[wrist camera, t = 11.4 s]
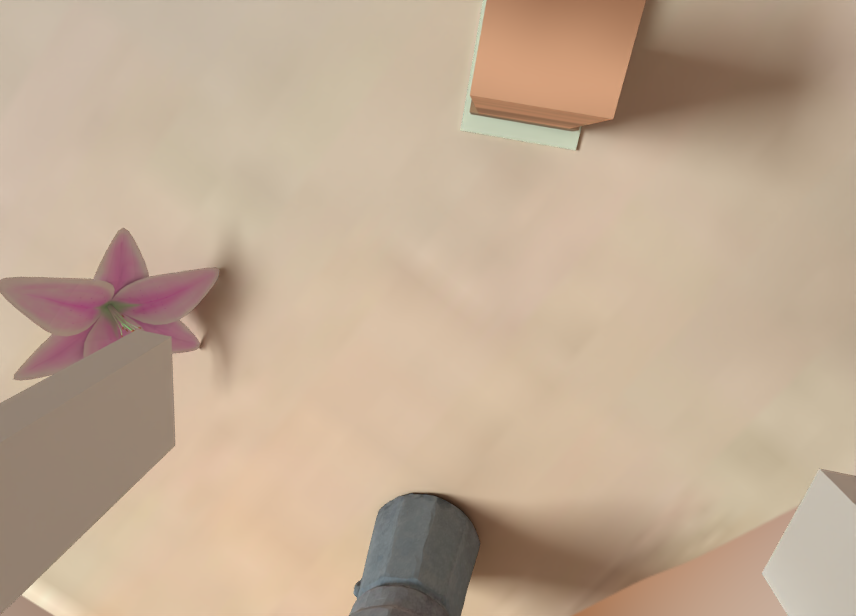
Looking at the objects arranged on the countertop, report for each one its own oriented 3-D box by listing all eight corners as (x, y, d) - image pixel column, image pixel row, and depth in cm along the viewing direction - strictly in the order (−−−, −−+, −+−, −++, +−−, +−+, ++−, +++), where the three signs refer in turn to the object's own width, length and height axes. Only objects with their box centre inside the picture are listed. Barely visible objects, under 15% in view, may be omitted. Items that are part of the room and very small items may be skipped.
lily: (156, 385, 40) (140, 455, 31) (-3, 308, 34) (-76, 369, 25) (248, 274, 39) (256, 315, 31) (103, 176, 33) (66, 195, 25)
